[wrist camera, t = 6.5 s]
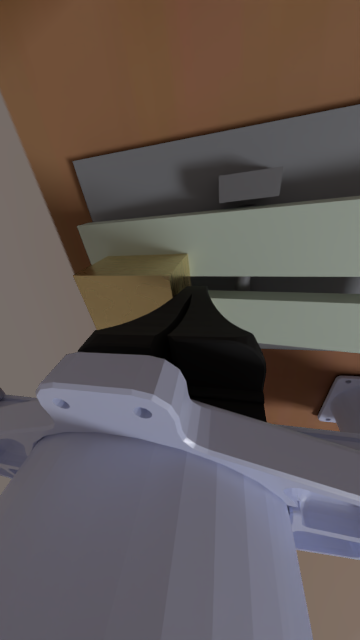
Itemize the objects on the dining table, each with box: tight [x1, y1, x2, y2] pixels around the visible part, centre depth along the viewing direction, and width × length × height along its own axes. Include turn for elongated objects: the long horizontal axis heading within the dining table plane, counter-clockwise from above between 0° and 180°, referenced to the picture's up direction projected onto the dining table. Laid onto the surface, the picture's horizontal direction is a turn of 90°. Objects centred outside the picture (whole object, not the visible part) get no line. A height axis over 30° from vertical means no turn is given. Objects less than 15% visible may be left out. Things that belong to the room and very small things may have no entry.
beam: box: [77, 196, 360, 353], centre depth 14 cm, size 22×9×2 cm, turn 97°
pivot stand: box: [72, 104, 360, 351], centre depth 15 cm, size 22×16×4 cm
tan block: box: [73, 254, 191, 330], centre depth 14 cm, size 6×5×4 cm
